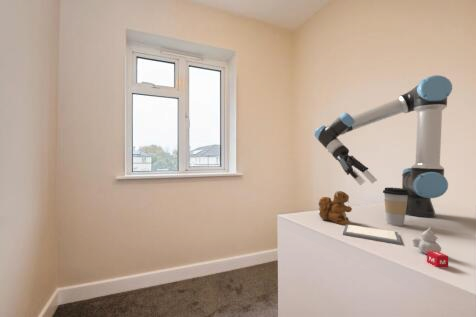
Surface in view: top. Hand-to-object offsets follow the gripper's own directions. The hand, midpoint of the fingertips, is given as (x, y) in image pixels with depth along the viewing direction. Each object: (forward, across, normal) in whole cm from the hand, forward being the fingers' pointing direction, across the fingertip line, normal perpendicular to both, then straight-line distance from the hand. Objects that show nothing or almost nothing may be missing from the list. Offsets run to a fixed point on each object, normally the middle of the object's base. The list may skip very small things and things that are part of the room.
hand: (369, 182), depth 105 cm
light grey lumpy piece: (+30, +28, +7) cm, 42 cm away
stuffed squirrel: (+6, +17, -17) cm, 25 cm away
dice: (+33, +35, +9) cm, 49 cm away
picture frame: (+18, +24, -5) cm, 30 cm away
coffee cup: (+19, 0, -4) cm, 20 cm away
